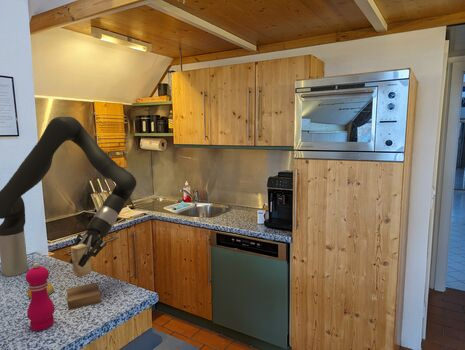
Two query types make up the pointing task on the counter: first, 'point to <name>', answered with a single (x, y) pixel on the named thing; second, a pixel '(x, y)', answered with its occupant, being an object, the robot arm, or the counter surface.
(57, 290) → the counter surface
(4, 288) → the counter surface
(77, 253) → the beech block
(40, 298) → the pepper mill
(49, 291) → the bread roll
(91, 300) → the walnut block
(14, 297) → the counter surface
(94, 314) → the counter surface
